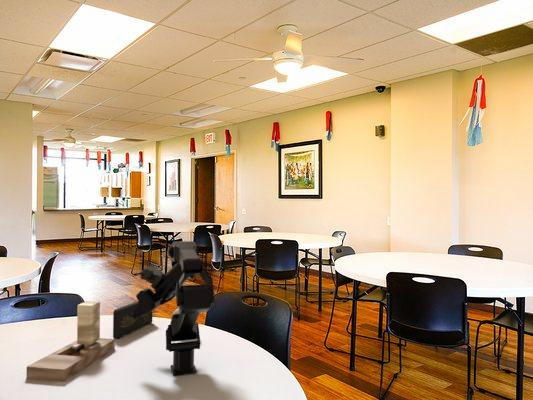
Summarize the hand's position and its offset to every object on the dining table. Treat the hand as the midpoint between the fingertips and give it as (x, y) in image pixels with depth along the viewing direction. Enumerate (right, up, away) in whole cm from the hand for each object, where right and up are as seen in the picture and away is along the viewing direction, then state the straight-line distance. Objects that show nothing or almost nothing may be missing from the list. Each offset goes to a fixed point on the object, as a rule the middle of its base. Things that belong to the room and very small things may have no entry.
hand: (140, 313), depth 120 cm
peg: (-17, -13, +3) cm, 22 cm away
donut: (+8, -14, +21) cm, 27 cm away
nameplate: (-11, -14, +27) cm, 32 cm away
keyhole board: (-18, -13, -3) cm, 23 cm away
